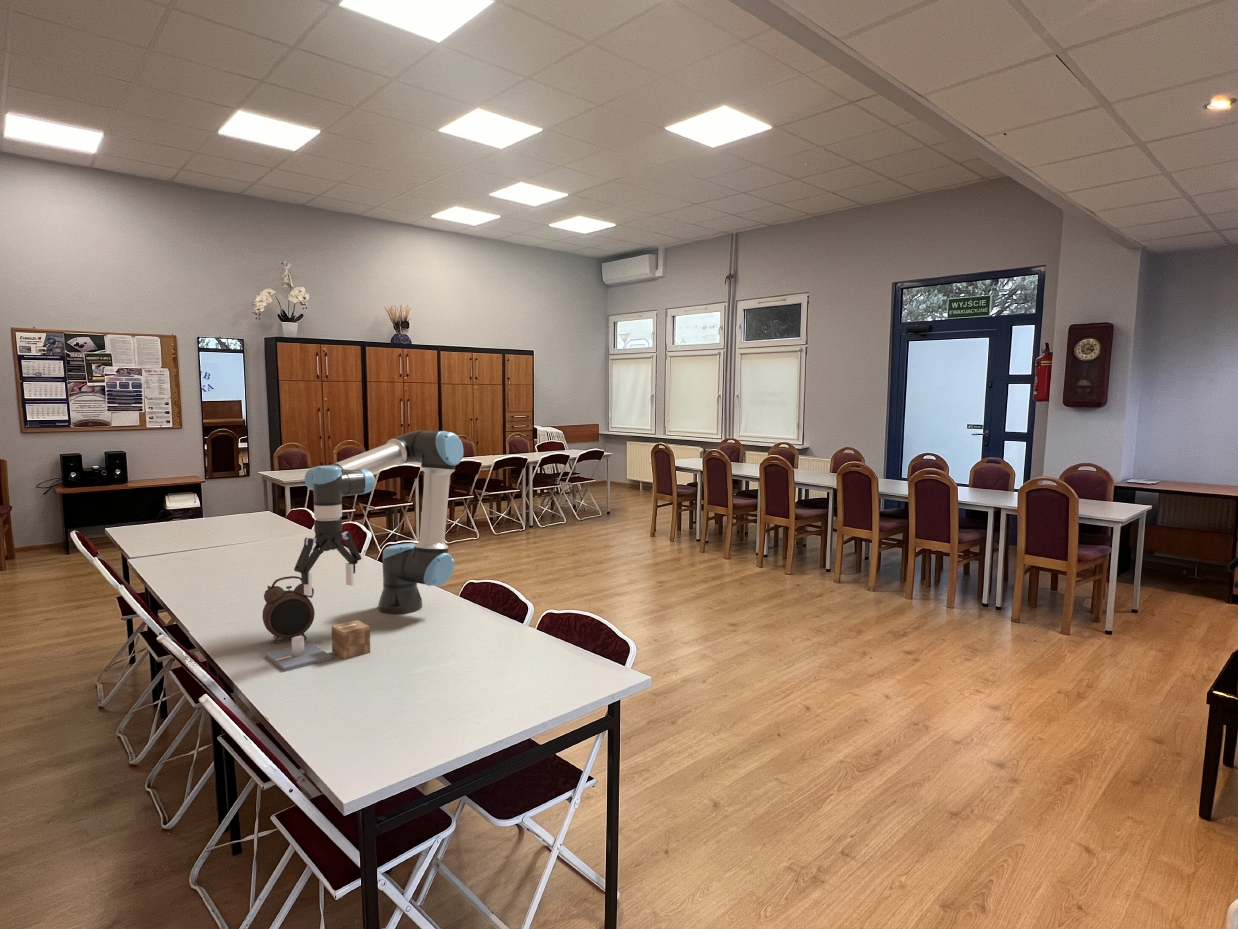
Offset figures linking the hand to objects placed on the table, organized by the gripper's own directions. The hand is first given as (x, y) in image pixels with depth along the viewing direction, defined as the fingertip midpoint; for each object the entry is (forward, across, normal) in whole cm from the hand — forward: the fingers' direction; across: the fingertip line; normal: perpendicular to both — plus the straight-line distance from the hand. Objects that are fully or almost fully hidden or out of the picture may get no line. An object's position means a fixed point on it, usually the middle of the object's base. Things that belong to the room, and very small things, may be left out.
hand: (329, 589), depth 201 cm
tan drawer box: (+19, -4, +5) cm, 20 cm away
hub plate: (+19, +8, -4) cm, 21 cm away
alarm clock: (+19, +1, -20) cm, 27 cm away
